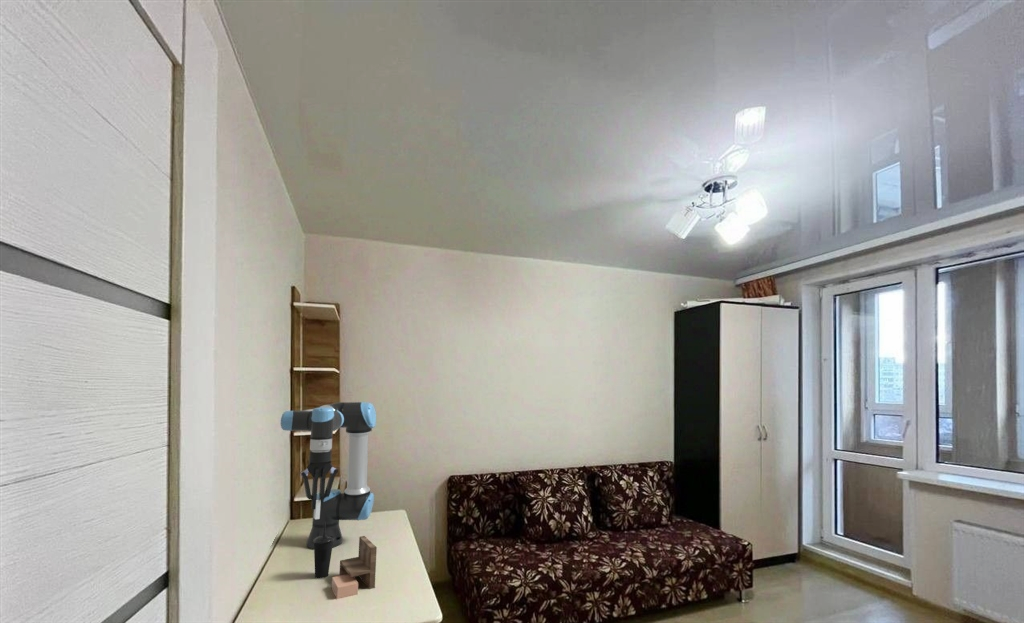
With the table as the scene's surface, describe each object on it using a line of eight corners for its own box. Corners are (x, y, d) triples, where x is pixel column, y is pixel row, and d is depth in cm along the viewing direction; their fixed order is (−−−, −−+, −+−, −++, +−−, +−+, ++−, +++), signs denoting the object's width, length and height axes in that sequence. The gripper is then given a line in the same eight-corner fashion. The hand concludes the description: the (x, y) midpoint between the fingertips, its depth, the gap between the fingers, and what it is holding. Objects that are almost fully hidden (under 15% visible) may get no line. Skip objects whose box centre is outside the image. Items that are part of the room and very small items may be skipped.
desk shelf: (339, 578, 182) (341, 539, 184) (362, 573, 187) (364, 535, 189) (349, 593, 170) (352, 552, 172) (374, 587, 175) (376, 547, 177)
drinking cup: (336, 573, 187) (339, 520, 190) (322, 581, 180) (326, 525, 182) (320, 570, 189) (323, 518, 192) (306, 578, 182) (310, 523, 185)
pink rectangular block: (337, 599, 166) (337, 587, 166) (331, 588, 174) (332, 577, 175) (357, 595, 169) (358, 583, 170) (351, 584, 178) (351, 573, 178)
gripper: (303, 453, 167) (299, 524, 164) (341, 450, 174) (337, 518, 171) (299, 450, 173) (295, 518, 170) (336, 447, 180) (332, 512, 177)
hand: (316, 518), depth 171 cm, fingers closed
